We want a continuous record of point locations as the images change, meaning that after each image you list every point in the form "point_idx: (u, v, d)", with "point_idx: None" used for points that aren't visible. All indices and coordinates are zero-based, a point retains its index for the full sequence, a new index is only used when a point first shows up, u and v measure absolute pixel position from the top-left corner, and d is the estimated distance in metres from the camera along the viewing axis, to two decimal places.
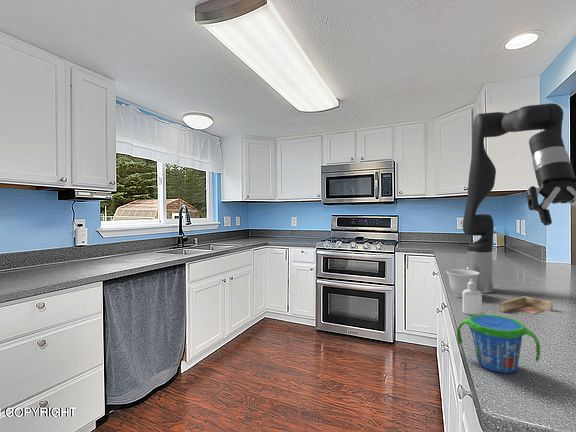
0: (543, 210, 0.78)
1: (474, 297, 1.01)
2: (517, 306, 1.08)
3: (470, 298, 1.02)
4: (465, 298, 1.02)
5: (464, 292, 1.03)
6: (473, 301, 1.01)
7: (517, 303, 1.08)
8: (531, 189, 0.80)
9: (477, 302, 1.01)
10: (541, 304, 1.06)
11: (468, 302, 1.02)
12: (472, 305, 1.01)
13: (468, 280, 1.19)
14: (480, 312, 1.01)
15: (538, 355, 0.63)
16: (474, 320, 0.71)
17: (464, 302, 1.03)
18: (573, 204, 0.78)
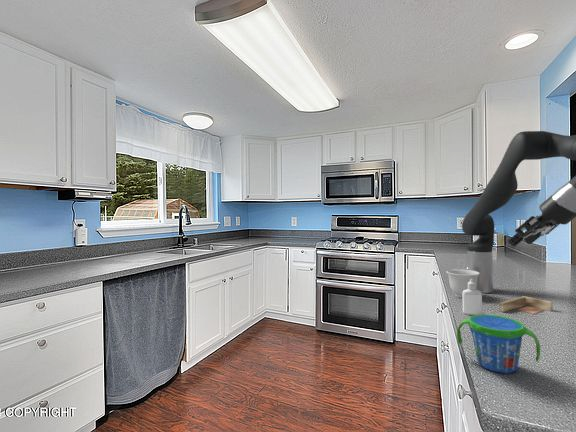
0: (521, 237, 0.85)
1: (474, 297, 1.01)
2: (517, 306, 1.08)
3: (470, 298, 1.02)
4: (465, 298, 1.02)
5: (464, 292, 1.03)
6: (473, 301, 1.01)
7: (517, 303, 1.08)
8: (536, 224, 0.80)
9: (477, 302, 1.01)
10: (541, 304, 1.06)
11: (468, 302, 1.02)
12: (472, 305, 1.01)
13: (468, 280, 1.19)
14: (480, 312, 1.01)
15: (538, 355, 0.63)
16: (474, 320, 0.71)
17: (464, 302, 1.03)
18: None
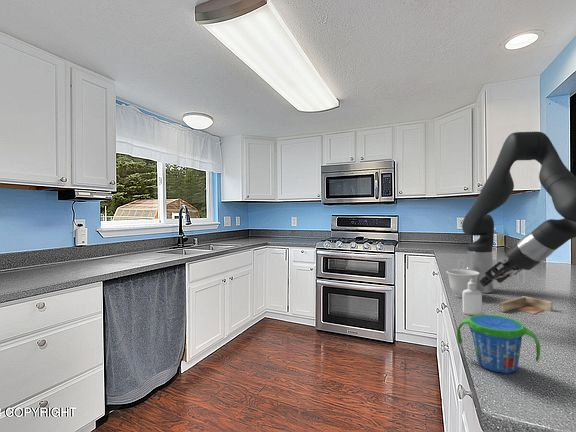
0: (490, 279, 0.93)
1: (474, 297, 1.01)
2: (517, 306, 1.08)
3: (470, 298, 1.02)
4: (465, 298, 1.02)
5: (464, 292, 1.03)
6: (473, 301, 1.01)
7: (517, 303, 1.08)
8: (503, 270, 0.88)
9: (477, 302, 1.01)
10: (541, 304, 1.06)
11: (468, 302, 1.02)
12: (472, 305, 1.01)
13: (468, 280, 1.19)
14: (480, 312, 1.01)
15: (538, 355, 0.63)
16: (474, 320, 0.71)
17: (464, 302, 1.03)
18: None
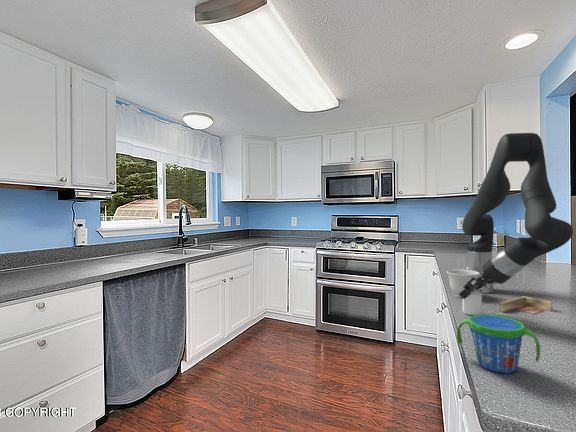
0: (468, 292, 1.00)
1: (474, 297, 1.01)
2: (517, 306, 1.08)
3: (470, 298, 1.02)
4: (465, 298, 1.02)
5: None
6: (473, 301, 1.01)
7: (517, 303, 1.08)
8: (476, 285, 0.95)
9: (477, 302, 1.01)
10: (541, 304, 1.06)
11: (468, 302, 1.02)
12: (472, 305, 1.01)
13: (468, 280, 1.19)
14: (480, 312, 1.01)
15: (538, 355, 0.63)
16: (474, 320, 0.71)
17: (464, 302, 1.03)
18: None
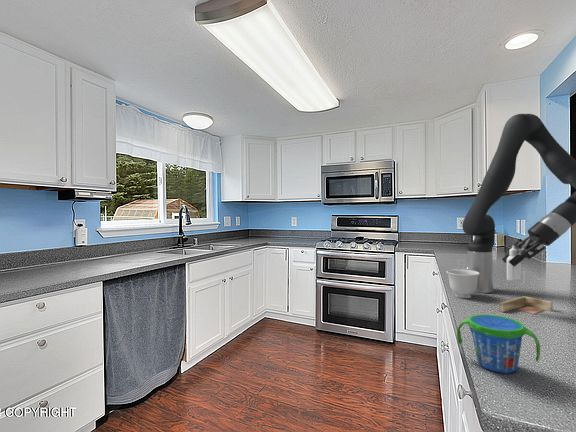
0: None
1: (519, 263, 1.04)
2: (517, 306, 1.08)
3: (518, 264, 1.03)
4: None
5: None
6: (519, 267, 1.03)
7: (517, 303, 1.08)
8: (543, 249, 0.97)
9: (520, 267, 1.04)
10: (541, 304, 1.06)
11: (516, 269, 1.03)
12: (519, 271, 1.03)
13: (468, 280, 1.19)
14: (520, 277, 1.05)
15: (538, 355, 0.63)
16: (474, 320, 0.71)
17: (513, 269, 1.03)
18: (517, 248, 1.06)
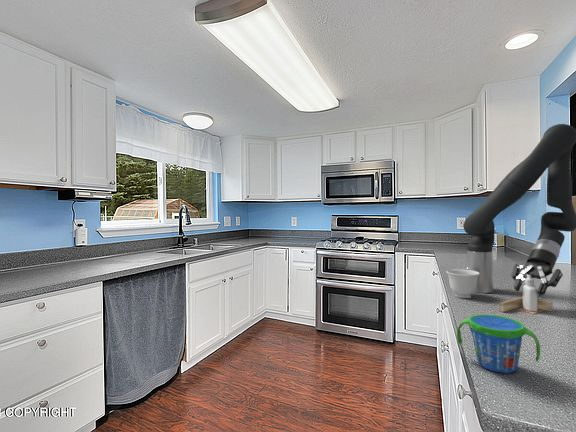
0: None
1: None
2: (517, 306, 1.08)
3: None
4: None
5: (535, 290, 1.03)
6: None
7: (517, 303, 1.08)
8: None
9: None
10: (541, 304, 1.06)
11: None
12: None
13: (468, 280, 1.19)
14: None
15: (538, 355, 0.63)
16: (474, 320, 0.71)
17: (536, 300, 1.02)
18: (524, 275, 1.08)
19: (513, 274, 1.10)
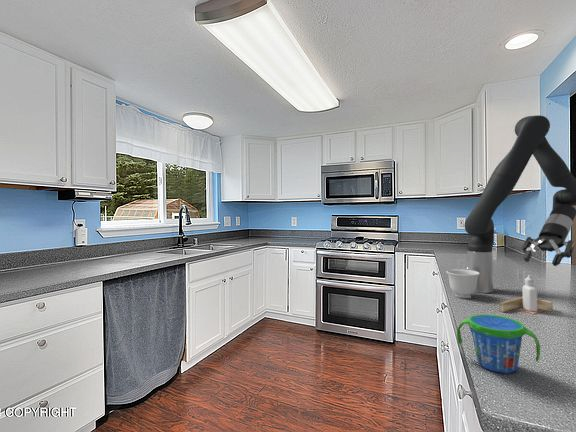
0: None
1: None
2: (517, 306, 1.08)
3: None
4: None
5: (535, 290, 1.03)
6: None
7: (517, 303, 1.08)
8: None
9: None
10: (541, 304, 1.06)
11: (536, 298, 1.03)
12: None
13: (468, 280, 1.19)
14: None
15: (538, 355, 0.63)
16: (474, 320, 0.71)
17: (536, 300, 1.02)
18: (534, 247, 1.13)
19: (523, 246, 1.16)
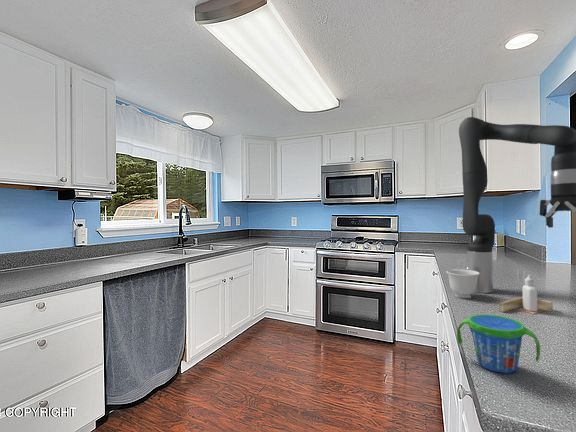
0: None
1: None
2: (517, 306, 1.08)
3: None
4: None
5: (535, 290, 1.03)
6: None
7: (517, 303, 1.08)
8: None
9: None
10: (541, 304, 1.06)
11: None
12: None
13: (468, 280, 1.19)
14: None
15: (538, 355, 0.63)
16: (474, 320, 0.71)
17: (536, 300, 1.02)
18: (553, 212, 1.11)
19: (541, 213, 1.14)
